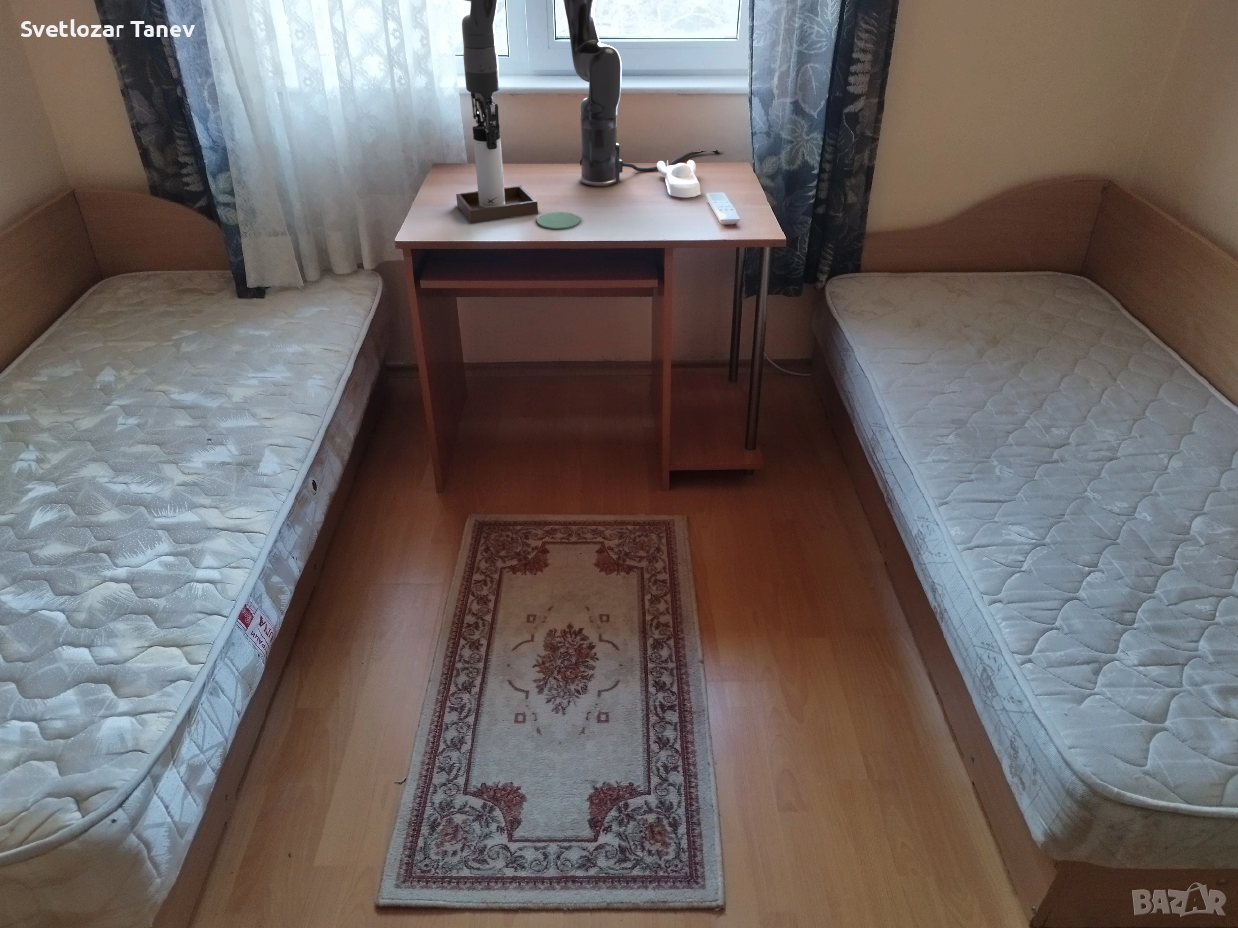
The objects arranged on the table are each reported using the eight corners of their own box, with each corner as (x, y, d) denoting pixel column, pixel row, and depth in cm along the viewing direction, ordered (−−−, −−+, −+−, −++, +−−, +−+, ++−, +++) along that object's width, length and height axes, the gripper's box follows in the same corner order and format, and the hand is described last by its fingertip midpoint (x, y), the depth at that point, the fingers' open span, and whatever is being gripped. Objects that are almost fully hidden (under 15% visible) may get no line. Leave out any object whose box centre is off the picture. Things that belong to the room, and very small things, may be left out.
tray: (521, 197, 220) (520, 185, 218) (538, 213, 210) (537, 201, 209) (457, 206, 214) (456, 194, 213) (471, 223, 205) (470, 211, 203)
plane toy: (665, 200, 218) (666, 177, 215) (656, 174, 234) (656, 152, 231) (706, 199, 219) (707, 176, 216) (694, 173, 235) (695, 151, 232)
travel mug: (495, 215, 208) (488, 128, 196) (474, 209, 211) (466, 124, 199) (511, 207, 212) (506, 122, 201) (490, 202, 215) (483, 117, 203)
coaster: (570, 211, 212) (570, 210, 211) (585, 225, 204) (585, 224, 204) (531, 217, 208) (531, 215, 208) (545, 232, 201) (545, 230, 201)
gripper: (507, 73, 189) (512, 151, 199) (488, 59, 199) (494, 134, 209) (473, 76, 186) (480, 155, 196) (456, 62, 197) (463, 138, 207)
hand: (487, 144), depth 203 cm, fingers closed on travel mug, 6 cm apart
